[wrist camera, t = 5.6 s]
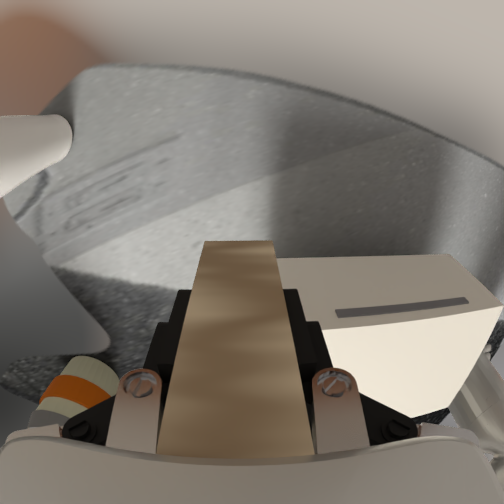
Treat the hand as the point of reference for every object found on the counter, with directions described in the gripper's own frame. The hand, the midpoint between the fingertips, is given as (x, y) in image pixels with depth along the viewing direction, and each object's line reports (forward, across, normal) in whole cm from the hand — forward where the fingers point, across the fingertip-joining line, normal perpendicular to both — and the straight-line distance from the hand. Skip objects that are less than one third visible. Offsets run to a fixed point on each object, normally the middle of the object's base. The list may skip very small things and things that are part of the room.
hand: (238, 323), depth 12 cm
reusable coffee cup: (+20, +24, +28) cm, 42 cm away
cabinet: (+21, -12, +12) cm, 27 cm away
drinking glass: (+20, +20, -7) cm, 29 cm away
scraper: (+3, 0, +7) cm, 8 cm away
